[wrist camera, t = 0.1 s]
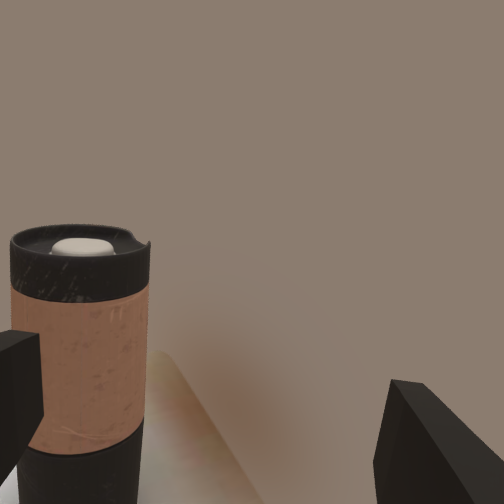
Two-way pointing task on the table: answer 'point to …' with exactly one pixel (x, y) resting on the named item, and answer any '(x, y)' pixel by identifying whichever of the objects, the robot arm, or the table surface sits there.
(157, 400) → the table surface
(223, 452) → the table surface
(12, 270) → the travel mug
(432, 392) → the robot arm
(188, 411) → the table surface
